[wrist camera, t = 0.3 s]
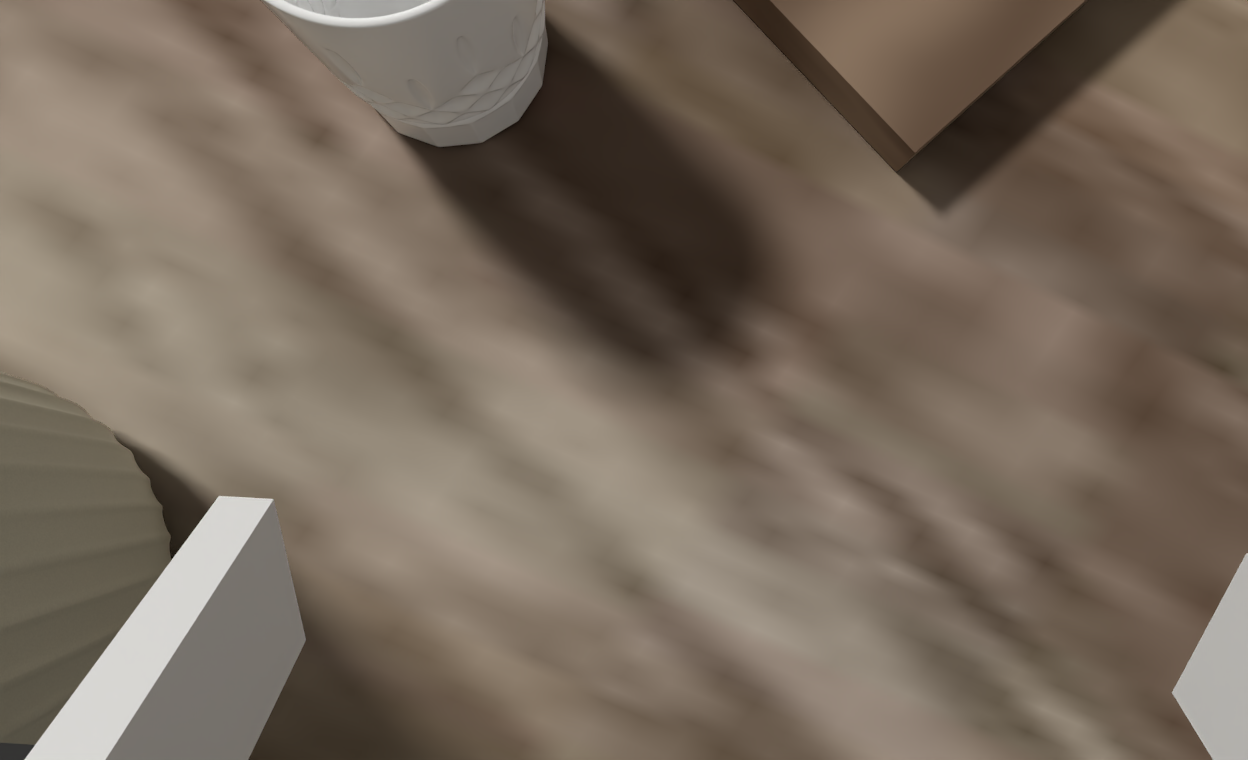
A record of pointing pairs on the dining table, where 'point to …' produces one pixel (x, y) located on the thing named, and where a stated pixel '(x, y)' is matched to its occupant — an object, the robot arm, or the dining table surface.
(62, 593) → the canister
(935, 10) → the stand
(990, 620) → the dining table surface
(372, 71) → the white cup
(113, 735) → the robot arm
